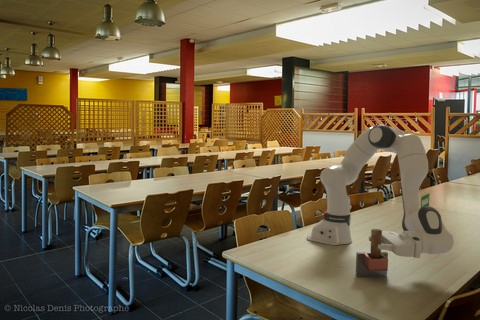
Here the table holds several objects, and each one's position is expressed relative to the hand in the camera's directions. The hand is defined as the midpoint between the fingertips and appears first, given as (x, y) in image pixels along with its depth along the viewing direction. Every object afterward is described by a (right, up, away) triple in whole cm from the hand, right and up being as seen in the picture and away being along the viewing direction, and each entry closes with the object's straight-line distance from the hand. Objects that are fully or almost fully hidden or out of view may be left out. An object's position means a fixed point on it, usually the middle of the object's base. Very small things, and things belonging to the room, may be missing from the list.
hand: (373, 242), depth 150 cm
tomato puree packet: (+53, -8, +72) cm, 90 cm away
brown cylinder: (+1, -9, +1) cm, 9 cm away
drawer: (+1, -15, +2) cm, 15 cm away
